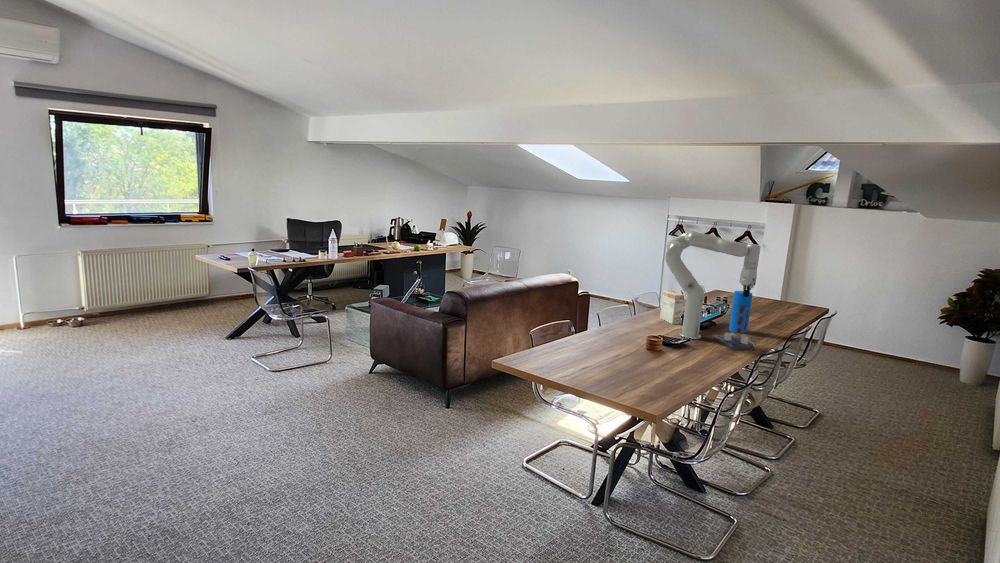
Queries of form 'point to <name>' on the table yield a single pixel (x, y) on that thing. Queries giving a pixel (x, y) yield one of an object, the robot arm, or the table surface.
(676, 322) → the coffeecake box
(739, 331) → the thermos
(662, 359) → the table surface
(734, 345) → the console
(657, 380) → the table surface
